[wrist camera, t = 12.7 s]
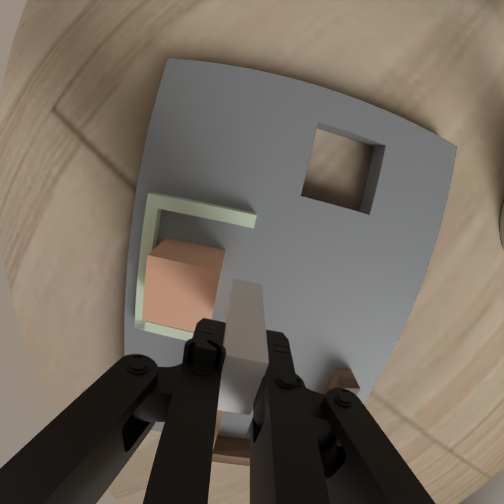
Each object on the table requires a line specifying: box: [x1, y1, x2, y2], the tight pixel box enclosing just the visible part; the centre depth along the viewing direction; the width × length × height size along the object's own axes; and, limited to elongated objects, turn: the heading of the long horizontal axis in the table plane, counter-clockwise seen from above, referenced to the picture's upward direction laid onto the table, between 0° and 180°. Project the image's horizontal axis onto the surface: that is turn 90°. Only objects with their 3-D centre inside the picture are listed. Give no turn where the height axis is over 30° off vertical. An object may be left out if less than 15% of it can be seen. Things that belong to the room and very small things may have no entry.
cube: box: [142, 238, 226, 332], centre depth 17 cm, size 4×4×4 cm
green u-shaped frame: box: [135, 192, 257, 341], centre depth 19 cm, size 10×7×1 cm
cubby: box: [212, 369, 360, 466], centre depth 22 cm, size 12×12×2 cm
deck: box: [124, 58, 457, 439], centre depth 21 cm, size 32×22×2 cm
